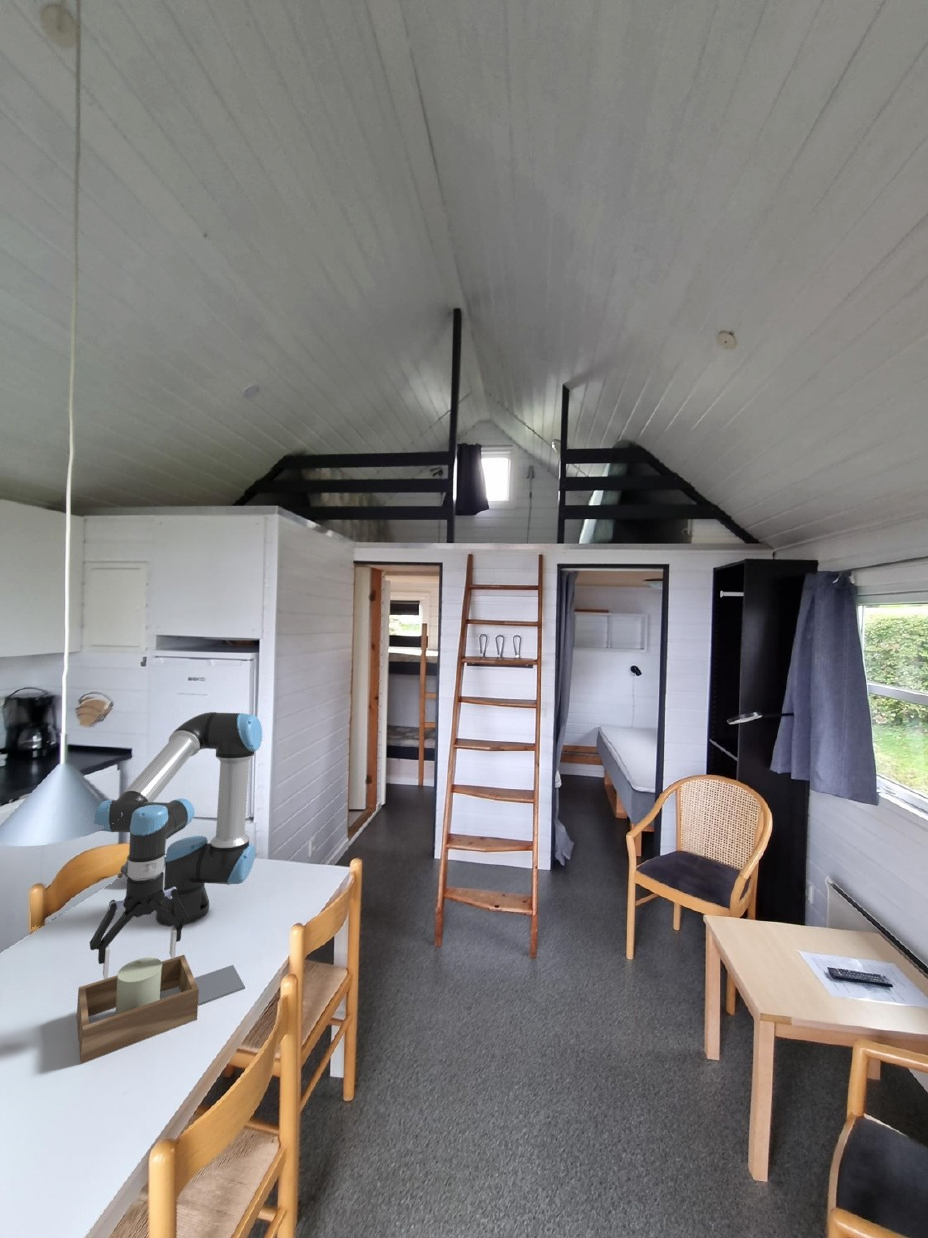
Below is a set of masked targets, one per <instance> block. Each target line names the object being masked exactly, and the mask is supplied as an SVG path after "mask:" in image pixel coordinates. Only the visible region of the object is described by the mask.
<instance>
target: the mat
mask: <svg viewBox="0 0 928 1238" xmlns="http://www.w3.org/2000/svg"><path fill="white" fill-rule="evenodd" d="M194 979H195V981H196V984H197V986H198V989H199V995H198V1007H199V1006H201V1005H203V1004H204V1005H205V1004H206V1003H209V1002H213V1001H215V1000H218V999H220V998H223V997H226V996H228V995H231V994H233V993H237V992H239V991H241V990H244V989H246V986H245V985H244V982H243V980H242V979H241V977H240V975H239V973H238V971H237V970H236V967H235V966H234V964H232V965H229V966H226V967H223V968H220V969H216V970H214V971H211V972H208V973H205V974H202V975H200V976H199V975H198V976H195V977H194Z"/></svg>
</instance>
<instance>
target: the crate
mask: <svg viewBox="0 0 928 1238" xmlns="http://www.w3.org/2000/svg"><path fill="white" fill-rule="evenodd" d="M161 962H162V970H161V983H160V993H162V992H164V991H168V990H171V989H174V988H177V987H178V989H179V990H180V992H178V993H176V994H172V995H170V996H166V997H164V998H160V1000H158V1001H155V1002H152V1003H149V1004H146V1005H144V1006H141V1007H138V1008H135V1009H132V1010H129V1011H126V1012H124V1013H121V1014H118V1015H113V1016H109V1017H106V1018H103V1019H101V1020H98V1021H95V1022H92V1023H90V1020H89V1019H90V1018H89V1017H91V1016H95V1015H97V1014H98V1015H99V1014H101V1013H103V1012H106V1011H109V1010H113V1009H116V996H117V975H114V976H111V977H108V978H107V979H104V978H103V979H102V980H98V981H95V982H91V983H88V984H86V985H82V986H79V987H78V989H77V990H78V992H77V1003H76V1004H77V1008H76V1025H77V1026H76V1027H77V1038H78V1049H79V1060H80V1065H82V1064H85V1063H87V1062H90V1061H92V1060H95V1059H98V1058H100V1057H103V1056H105V1055H108V1054H111V1053H114V1052H116V1051H118V1050H121V1049H125V1048H126V1047H129V1046H132V1045H135V1044H137V1043H140V1042H141V1041H142V1042H143V1041H144V1040H147V1039H150V1038H153V1037H155V1036H158V1035H160V1034H163V1033H165V1032H168V1031H171V1030H173V1029H177V1028H179V1027H181V1026H183V1025H186V1024H189V1023H191V1022H194V1021H196V1020H198V1010H199V1006H198V995H199V989H198V986H197V984H196V981H195V979H194V978H195V977H194V974H193V972H192V969H191V967H190V964H189V963H188V960H187V958H186V955H185V954H181V955H179V956H175V958H173V959H172V958H169V959H165V960H163V961H162V960H161Z"/></svg>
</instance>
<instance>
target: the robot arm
mask: <svg viewBox="0 0 928 1238" xmlns="http://www.w3.org/2000/svg"><path fill="white" fill-rule="evenodd" d="M262 726H263V725H262V723H261V721H260V719H259V718H258V717H257V716H256V715H255V714H249V713H243V712H241V713H240V712H215V711H212V712H211V711H209V712H204V713H201V714H198V715H196V716H194V717H192V718H190V719H189V720H187V721H185V722H183V723H182V724H180V725H179V727H177V728H176V729H175V730H174V731H173V732H172V733H171V734H170V735H169V737H168V743H167V744H165V746H164V747H163V748H162V749H161V750H160V752H159V753H158V754H156V756H155V757H154V758H153V760H151V762H150V763H149V764H148V765H147V766H146V767H145V768H144V769H143V770H142V772H141V773H140V774H138V776H137V777H136V778H135V780H133V781H132V783H131V784H130V785H129V786H128V787H127V788H126V789H125V790H124V791H123V793H122V794H121V795H120V796H119V797H118V798H117V799H109V800H108V799H107V800H104V801H102V802H100V804H99V805H98V806H97V807H96V809H95V811H94V813H95V820H94V822H93V825H94V824H98V825H104V827H105V826H109V825H110V826H109V827H105V828H104V829H102V830H99V831H101V832H109V833H129V849H128V850H129V852H128V855H129V859H128V872H127V875H128V878H127V877H126V890H125V897H124V899H123V900H117V901H116V899H112V900H110V901H109V905H108V909H107V911H106V913H105V915H104V917H103V919H102V920H101V921H100V923H99V925H98V927H97V929H96V930H95V932H94V934H93V936H92V938H91V939H90V941H89V947H90V948H89V949H90V950H91V951H95V950H98V954H97V955H98V956H97V962H98V965H102V964H103V965H102V976H103V980H104V979H107V978H109V967H110V966H109V965H110V952H111V951H110V944H111V943H112V942H113V941H114V939H115V938H116V937H117V936H118V934H119V933H120V932H121V931H122V929H124V927H125V926H126V925H127V924H128V923H129V922H130V921H131V920H132V919H133V917H135V918H141V917H142V916H148V915H152V913H154V912H155V920H156V922H157V923H158V924H161V925H163V926H169V927H170V937H169V956H170V959H173V958H175V957H176V951H177V950H176V949H177V942H181V939H182V930H183V928H184V926H185V925H189V924H191V923H194V922H197V921H198V920H200V919H202V918H203V917H205V916H206V915H207V914H208V912H209V911H210V898H209V896H208V893H207V889H206V886H205V884H217V885H228V886H229V885H240V884H243V882H245V880H247V879H248V876H249V875H250V873H251V871H252V868H253V865H254V862H255V857H256V851H257V850H256V847H255V845H253V844H250V836H249V835H248V834H246V833H245V832H246V818H247V817H246V816H247V815H246V814H247V800H248V799H247V798H248V783H249V782H248V780H249V766H250V759H252V758H253V757H254V756H255V752H256V751H258V750H259V749H260V748H261V745H262V740H263V728H262ZM204 749H205V750H206V749H208V750H215V758H216V759H217V760H218V761H219V762H220V763H219V778H218V779H219V780H218V794H217V795H218V796H217V812H216V828H215V836H214V837H212V839H211V840H210V842H209V840H208V838H207V836H204V835H192V836H188V837H184V838H181V839H178V840H175V841H174V842H172V843H171V844H169V846H168V847H167V849H166V846H167V845H166V844H167V840H169V838H171V837H172V836H174V835H175V834H177V833H178V832H180V831H182V830H183V829H185V828H186V827H187V826H188V825H189V824H190V823H192V821H193V819H194V817H195V808H194V806H193V804H192V803H191V801H189V800H188V799H186V798H177V799H174V800H171V801H169V802H161V801H160V802H155V801H156V799H157V798H158V797H159V795H160V794H161V793H162V792H163V791H164V789H165V788H166V787H167V786H168V784H169V783H170V782H171V780H172V779H173V778H174V777H175V775H176V774H177V773H178V772H179V771H180V769H181V768H182V767H183V765H185V763H186V762H187V761H188V760H189V758H191V757H193V756H196V754H198V753H199V751H201V750H204ZM109 801H110V802H111V803H112V804H111V803H109ZM121 812H122V813H123V816H122V817H121ZM118 819H119V820H118ZM112 823H114V824H112ZM208 842H209V843H208ZM165 854H166V859H165ZM164 861H165V868H164ZM162 871H163V872H162ZM122 907H123V908H124V909H125V910H124V911H123V912H122V914H121V916H120V917H119V918H118V919H117V920H116V922H115V923H114V924H113V925H112V926H111V927H110V928H109V926H110V925H111V923H112V921H113V919H114V918H115V915H116V913H118V912H119V911H120V910H121V908H122ZM108 928H109V930H108ZM107 930H108V931H107Z"/></svg>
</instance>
